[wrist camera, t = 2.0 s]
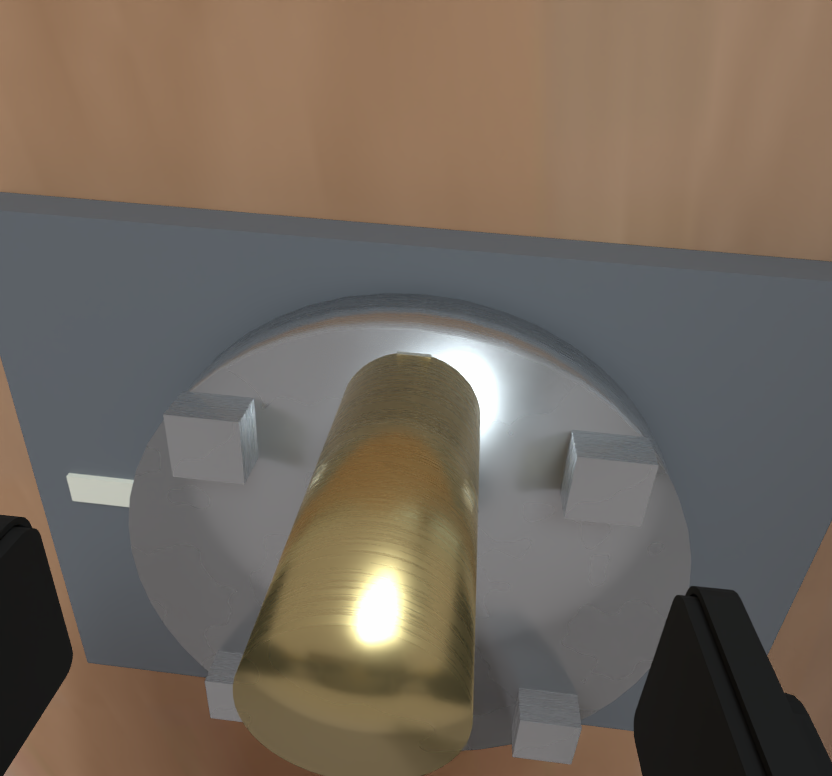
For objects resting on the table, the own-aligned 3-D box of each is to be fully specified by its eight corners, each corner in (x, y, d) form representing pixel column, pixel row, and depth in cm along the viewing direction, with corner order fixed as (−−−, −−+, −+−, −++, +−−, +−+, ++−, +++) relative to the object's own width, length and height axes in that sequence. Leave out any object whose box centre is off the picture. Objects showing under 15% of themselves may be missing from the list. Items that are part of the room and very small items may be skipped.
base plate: (902, 267, 15) (945, 293, 14) (712, 702, 23) (727, 747, 22) (-1, 192, 17) (-48, 208, 15) (109, 628, 25) (85, 666, 23)
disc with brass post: (740, 322, 15) (1025, 674, 7) (611, 716, 22) (680, 1115, 14) (125, 267, 15) (-249, 526, 8) (192, 664, 22) (31, 1013, 15)
